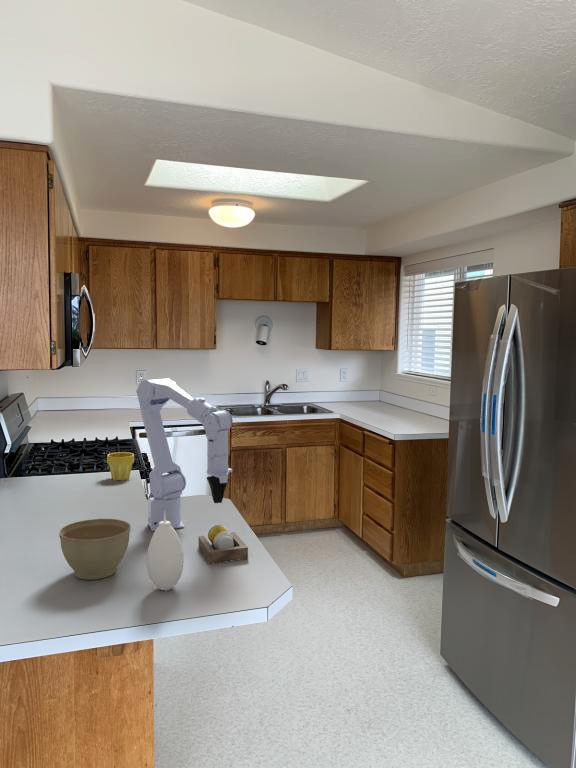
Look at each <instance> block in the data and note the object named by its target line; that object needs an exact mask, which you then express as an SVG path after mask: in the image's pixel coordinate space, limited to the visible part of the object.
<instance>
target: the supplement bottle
mask: <svg viewBox="0 0 576 768" xmlns="http://www.w3.org/2000/svg"><path fill="white" fill-rule="evenodd" d="M207 539H208V540H209V541H210V542H209V543H210V544H212V545H213V546H212V547H214V548H215V549H223V548H230V547H233V546H234V542H233V536H232V535H231V534H230V531H228V529H227V527H225V526H224V525H222V524H214V525H212V526H211V527H210V528H209V529H208V533H207Z"/></svg>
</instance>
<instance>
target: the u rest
mask: <svg viewBox="0 0 576 768" xmlns="http://www.w3.org/2000/svg"><path fill="white" fill-rule="evenodd" d="M229 533H230V534H231V535H232V536H233V542H234V546H233V547H230V548H223V549H216V548H215V549H214V548H213V546H212V545H211V542H209V541H208V538H206V537H205V535H198V549H199V548H200V549H199V550H200V552H201V553H202V555H203V556H204V558H205V560H206V559H207V560H206V561H207V563H208V562H209V563H208V564H209V565H212V564H211V563H215V564H220V563H219V562H222V563H226V562H225V561H229V562H232V561H231V560H236V561H239V560H238V559H244V560H246V559H245V558H248V559H249V547H248V546H247V544H245V542H244V541H243V540H242V539H241V537H239V536H238V534H237V533H236V532H235V531H232V532H231V531H229Z"/></svg>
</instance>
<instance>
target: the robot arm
mask: <svg viewBox="0 0 576 768" xmlns="http://www.w3.org/2000/svg"><path fill="white" fill-rule="evenodd" d="M135 391H136V394H137V395H136V396H137V400H138V403H139V407H140V408H139V409H140V415H141V419H142V422H143V426H144V429H145V430H144V431H145V433H146V437H147V441H148V446H149V450H150V455H151V458H152V461H153V465H154V467H153V468H152V469H151V471H150V472H149V474H148V479H149V489H150V490H149V491H150V493H151V494H152V496H153V497H149V498H148V502H147V508H148V509H147V511H148V513H147V514H148V516H147V523H148V526H149V528H150V530H151V532H155V531H156V529H157V528H158V527H159V522H161V521H164V510H165V513H166V521H170V522H171V526H172V527H173V528H174V529H179V528H180V529H181V528H184V527H185V525H184V523H183V522H182V520H181V519H182V518H181V517H182V516H181V515H182V514H181V512H182V509H181V504H182V503H181V502H182V501H181V496H182V495H183V492H184V490H185V489H186V487H187V486H186V485H187V479H186V477H185V475H184V474H183V472H182V469H181V466H180V465H178V464H177V463H175V461H173V457H172V453H171V451H170V446H169V442H168V439H167V435H166V431H165V427H164V424H163V418H162V414H161V410H162V408H163V407H164V406H165V405H166V404H168V402H169V401H170V400H171V401H173V402H174V403H176V404H178V405H180V406H182V407H183V408H184V409H186V411H187V413H186V414H187V415H188V416H190V417H191V418H192V419H195V420H196V421H197V422H199V423H200V424H201V425H202V427H203V429H204V431H205V437H206V440H207V443H206V444H207V447H206V448H207V450H206V451H207V453H206V454H207V457H206V458H207V459H206V460H207V463H206V464H207V469H206V474H207V475H210V476H206V480H207V483H208V484H209V488H210V492H211V496H212V500H213V503H214V504H222V503H223V499H224V496H225V491H226V488H227V486H228V484H229V482H230V478H229V477H228V474H229V473H233V469H232V468H229V430H230V429H231V428H232V426H233V421H234V420H233V417H232V415H231V414H230V412H229V411H228V410H226V409H218V407H216V406H215V405H214V406H213V405H212V404H210V403H208V402H207V401H206V398H204V397H195V398H194V397H192V396H191V395H189V393H188V392H185V390H183V388H181V387H179V386H178V385H177V383H176V381H175V380H172V379H171V378H168V377H164V378H157V379H142V380H140V382H139V383H138V386H137V389H136V390H135Z"/></svg>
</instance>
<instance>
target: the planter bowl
mask: <svg viewBox="0 0 576 768" xmlns="http://www.w3.org/2000/svg"><path fill="white" fill-rule="evenodd" d="M130 533H131V524H130V523H129V522H128V521H126V520H122V519H118V518H117V519H116V518H91V519H84V520H79V521H75V522H71V523H69V524H67V525H64V526H62V527H61V528H60V529H59V531H58V535H59V539H60V547H61V551H62V553H63V556H64V559H65V560H66V563H67V564H68V566H69V567H70V568H71V569H72V570H73V572H74V576H75V577H76V578H79V579H80V580H81V579H82V580H99V579H104V578H107V577H110V576H112V575H114V574H116V572H117V570H118V569H117V568H118V566H119V564H120V563H121V562H122V560H123V558H124V557H125V554H126V553H127V550H128V548H129V547H128V546H129V542H130Z"/></svg>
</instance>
